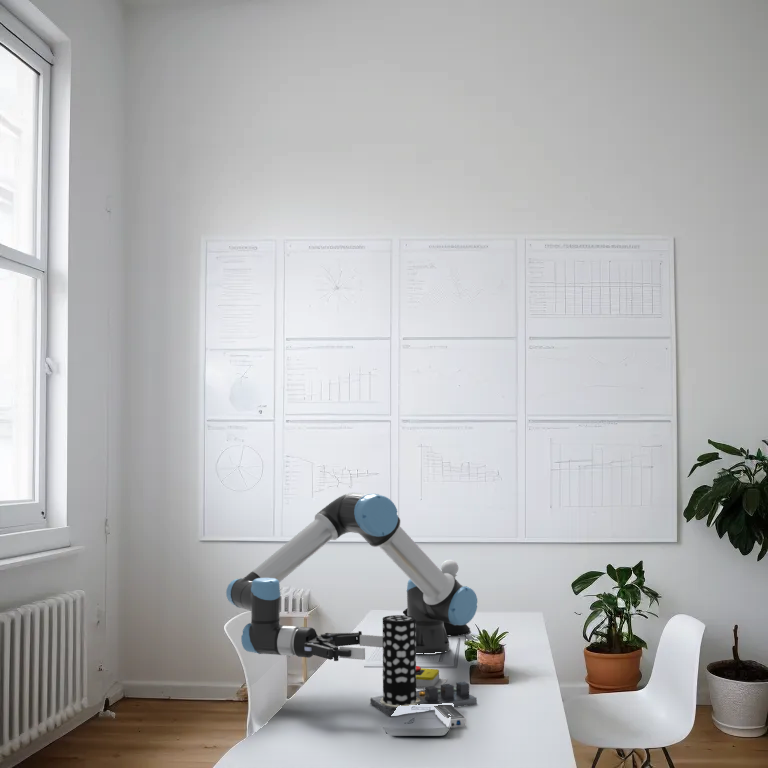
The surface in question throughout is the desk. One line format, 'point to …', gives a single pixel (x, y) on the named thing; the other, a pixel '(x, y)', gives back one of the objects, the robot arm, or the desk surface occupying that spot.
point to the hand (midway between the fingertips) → (374, 647)
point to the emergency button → (428, 678)
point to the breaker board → (455, 701)
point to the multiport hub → (452, 715)
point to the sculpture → (450, 629)
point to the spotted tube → (399, 659)
